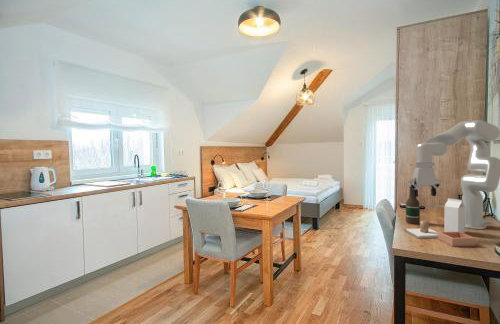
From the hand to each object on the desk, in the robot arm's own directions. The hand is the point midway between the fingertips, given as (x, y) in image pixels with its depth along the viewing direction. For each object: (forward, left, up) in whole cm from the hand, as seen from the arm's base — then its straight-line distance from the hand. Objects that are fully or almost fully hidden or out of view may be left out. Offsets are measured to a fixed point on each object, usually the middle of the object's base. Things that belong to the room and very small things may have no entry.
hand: (424, 196), depth 155 cm
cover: (0, 0, -21) cm, 21 cm away
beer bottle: (-6, -23, -22) cm, 32 cm away
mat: (0, 0, -21) cm, 21 cm away
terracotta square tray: (-7, +15, -21) cm, 27 cm away
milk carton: (-18, -2, -22) cm, 28 cm away
